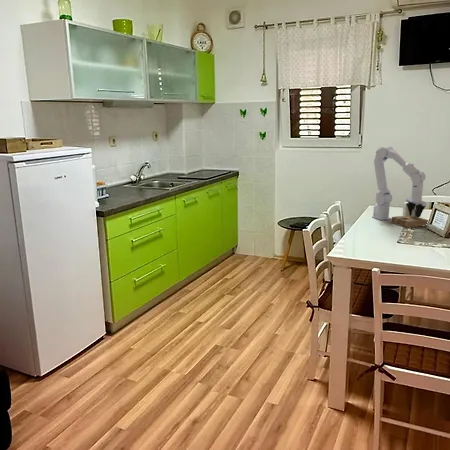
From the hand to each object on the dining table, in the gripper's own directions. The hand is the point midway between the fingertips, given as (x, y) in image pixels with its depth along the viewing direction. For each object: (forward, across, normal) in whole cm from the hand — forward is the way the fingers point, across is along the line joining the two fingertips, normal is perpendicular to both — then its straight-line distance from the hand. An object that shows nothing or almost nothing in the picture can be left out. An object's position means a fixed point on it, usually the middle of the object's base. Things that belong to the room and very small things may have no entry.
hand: (414, 215), depth 255 cm
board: (+5, 0, -4) cm, 6 cm away
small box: (+5, -10, +6) cm, 12 cm away
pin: (+4, 0, 0) cm, 4 cm away
